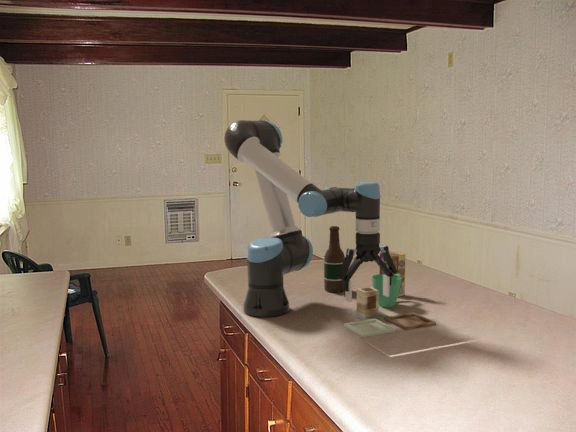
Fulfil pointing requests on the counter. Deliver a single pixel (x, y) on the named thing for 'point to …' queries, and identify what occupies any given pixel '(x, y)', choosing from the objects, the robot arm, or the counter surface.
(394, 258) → the candy box
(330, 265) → the beer bottle
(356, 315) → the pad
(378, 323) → the tray sage
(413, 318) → the tray walnut
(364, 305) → the letter block
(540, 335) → the counter surface
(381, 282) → the mug
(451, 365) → the counter surface
